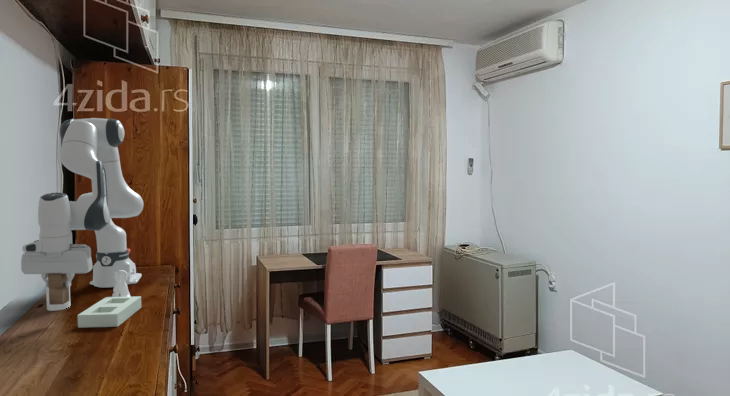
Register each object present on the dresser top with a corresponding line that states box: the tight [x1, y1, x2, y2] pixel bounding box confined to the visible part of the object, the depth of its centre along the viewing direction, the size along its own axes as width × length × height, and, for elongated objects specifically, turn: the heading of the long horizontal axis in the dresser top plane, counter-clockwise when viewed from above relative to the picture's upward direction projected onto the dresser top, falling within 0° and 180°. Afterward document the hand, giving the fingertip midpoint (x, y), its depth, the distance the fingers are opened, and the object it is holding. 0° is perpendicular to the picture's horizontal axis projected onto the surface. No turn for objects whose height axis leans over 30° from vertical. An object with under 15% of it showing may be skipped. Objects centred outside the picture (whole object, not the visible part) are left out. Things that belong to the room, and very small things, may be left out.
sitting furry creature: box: [111, 270, 132, 297], centre depth 178 cm, size 10×9×12 cm
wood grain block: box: [48, 273, 69, 305], centre depth 155 cm, size 4×4×10 cm
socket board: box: [77, 295, 142, 329], centre depth 162 cm, size 20×12×4 cm, turn 5°
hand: (58, 286), depth 155 cm, fingers closed on wood grain block, 4 cm apart
